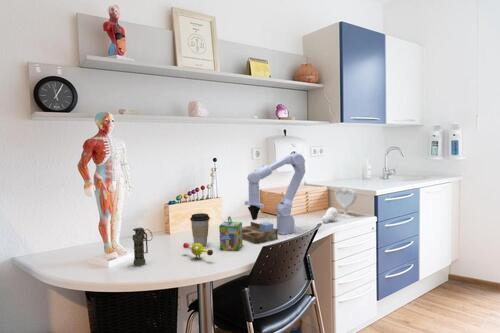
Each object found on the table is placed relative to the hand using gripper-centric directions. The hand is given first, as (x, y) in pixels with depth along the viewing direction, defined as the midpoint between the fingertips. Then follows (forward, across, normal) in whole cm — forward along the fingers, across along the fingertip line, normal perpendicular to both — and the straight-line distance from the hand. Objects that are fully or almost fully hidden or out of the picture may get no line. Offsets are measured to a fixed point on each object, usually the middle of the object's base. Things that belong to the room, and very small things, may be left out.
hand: (254, 219), depth 185 cm
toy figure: (+8, +16, -43) cm, 46 cm away
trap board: (+8, +4, -4) cm, 10 cm away
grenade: (+8, +8, -64) cm, 65 cm away
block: (+5, +11, -1) cm, 12 cm away
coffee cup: (+8, 0, -33) cm, 34 cm away
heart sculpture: (+9, +2, +74) cm, 75 cm away
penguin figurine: (+9, +7, +52) cm, 53 cm away
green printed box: (+8, +12, -23) cm, 27 cm away
